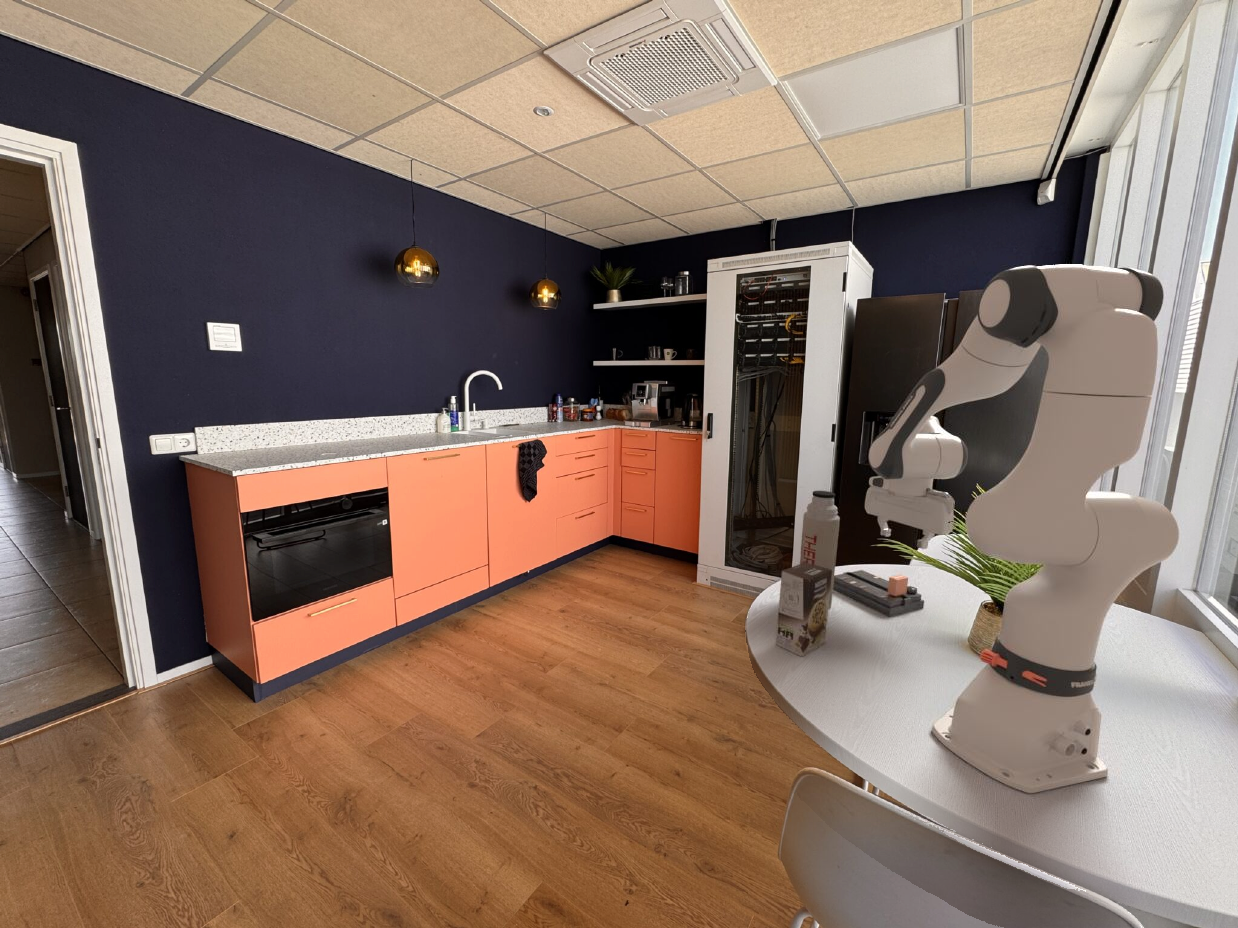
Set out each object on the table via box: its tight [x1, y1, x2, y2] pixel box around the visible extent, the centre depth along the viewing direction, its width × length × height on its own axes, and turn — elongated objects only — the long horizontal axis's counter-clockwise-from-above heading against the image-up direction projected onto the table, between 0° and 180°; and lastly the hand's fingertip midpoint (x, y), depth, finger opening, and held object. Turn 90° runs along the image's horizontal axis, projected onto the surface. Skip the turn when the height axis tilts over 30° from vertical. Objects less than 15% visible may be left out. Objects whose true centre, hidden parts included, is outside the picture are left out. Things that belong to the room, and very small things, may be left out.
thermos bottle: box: [799, 490, 841, 611], centre depth 122 cm, size 8×8×28 cm
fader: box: [888, 574, 909, 598], centre depth 122 cm, size 4×2×6 cm, turn 115°
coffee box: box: [775, 562, 832, 657], centre depth 104 cm, size 9×6×16 cm
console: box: [833, 569, 925, 618], centre depth 128 cm, size 12×18×4 cm, turn 25°
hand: (903, 541), depth 120 cm, fingers open, 8 cm apart
